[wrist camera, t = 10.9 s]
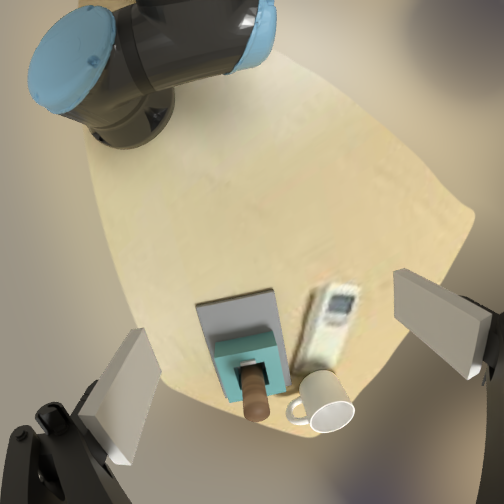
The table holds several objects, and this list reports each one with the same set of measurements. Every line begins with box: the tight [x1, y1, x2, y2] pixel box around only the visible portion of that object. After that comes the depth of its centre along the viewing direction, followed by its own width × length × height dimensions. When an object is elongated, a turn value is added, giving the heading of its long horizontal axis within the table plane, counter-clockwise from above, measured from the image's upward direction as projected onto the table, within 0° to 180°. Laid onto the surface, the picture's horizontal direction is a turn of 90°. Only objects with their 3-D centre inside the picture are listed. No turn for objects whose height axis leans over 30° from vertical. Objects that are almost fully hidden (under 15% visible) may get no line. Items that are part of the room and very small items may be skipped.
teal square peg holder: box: [214, 331, 286, 403], centre depth 45 cm, size 10×10×6 cm
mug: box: [286, 370, 355, 433], centre depth 47 cm, size 12×8×10 cm
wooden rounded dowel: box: [240, 362, 270, 422], centre depth 41 cm, size 4×4×14 cm
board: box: [196, 290, 292, 398], centre depth 48 cm, size 20×13×1 cm, turn 12°
